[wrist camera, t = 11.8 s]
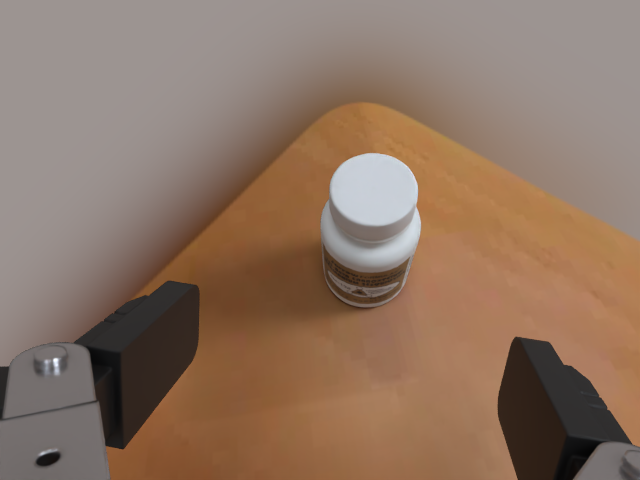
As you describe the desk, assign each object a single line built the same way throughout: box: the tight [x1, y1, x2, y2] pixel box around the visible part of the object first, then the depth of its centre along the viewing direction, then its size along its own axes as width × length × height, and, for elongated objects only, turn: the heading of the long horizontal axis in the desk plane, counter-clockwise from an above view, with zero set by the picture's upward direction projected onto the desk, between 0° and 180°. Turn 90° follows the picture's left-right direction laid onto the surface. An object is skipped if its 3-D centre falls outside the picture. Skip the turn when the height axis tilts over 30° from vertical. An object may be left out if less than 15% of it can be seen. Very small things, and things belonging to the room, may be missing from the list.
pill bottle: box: [321, 153, 421, 307], centre depth 22 cm, size 4×4×8 cm
